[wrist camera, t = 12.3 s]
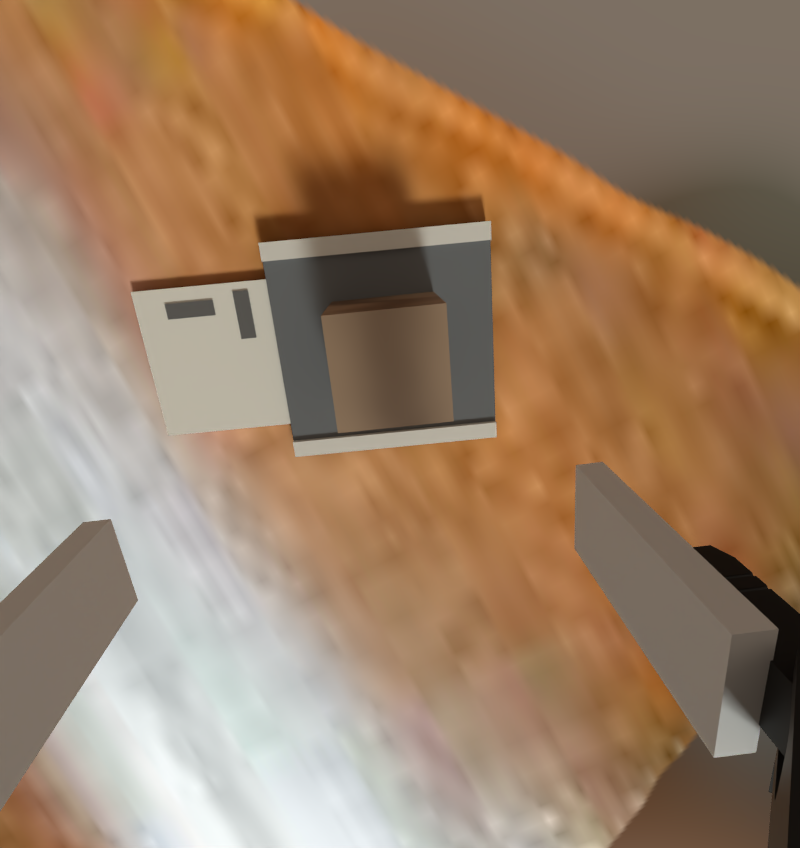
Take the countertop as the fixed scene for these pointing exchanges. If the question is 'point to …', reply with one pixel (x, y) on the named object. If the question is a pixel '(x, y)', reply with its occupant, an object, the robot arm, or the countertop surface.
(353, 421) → the walnut block
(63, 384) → the countertop surface
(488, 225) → the tray
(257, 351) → the beige flat square panel
